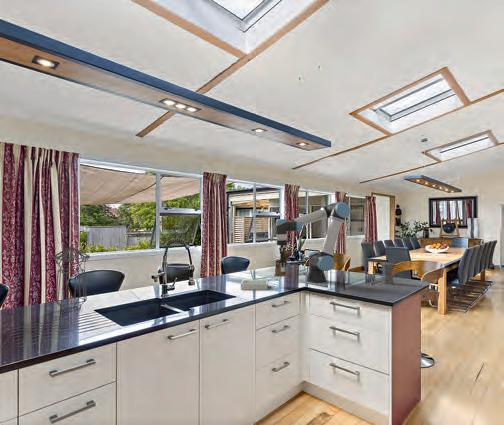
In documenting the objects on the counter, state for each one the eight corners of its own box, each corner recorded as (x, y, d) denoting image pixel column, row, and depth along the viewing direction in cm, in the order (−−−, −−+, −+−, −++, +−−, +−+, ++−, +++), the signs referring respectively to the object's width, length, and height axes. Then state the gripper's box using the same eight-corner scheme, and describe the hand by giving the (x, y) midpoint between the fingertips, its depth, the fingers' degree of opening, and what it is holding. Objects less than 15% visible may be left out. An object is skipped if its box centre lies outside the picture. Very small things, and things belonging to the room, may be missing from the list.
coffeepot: (398, 283, 244) (398, 260, 245) (393, 285, 238) (393, 261, 238) (378, 280, 255) (378, 258, 256) (373, 282, 249) (373, 259, 249)
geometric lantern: (79, 304, 190) (79, 245, 191) (91, 309, 180) (91, 246, 181) (49, 310, 178) (50, 247, 179) (60, 315, 168) (61, 248, 169)
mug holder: (267, 285, 240) (267, 280, 240) (267, 289, 226) (267, 284, 226) (242, 285, 241) (242, 280, 242) (240, 289, 227) (240, 283, 228)
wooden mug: (293, 274, 239) (292, 250, 239) (279, 277, 231) (278, 252, 231) (286, 273, 246) (285, 249, 246) (271, 275, 239) (271, 251, 239)
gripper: (276, 239, 248) (277, 268, 248) (276, 241, 228) (277, 273, 228) (286, 238, 248) (287, 268, 248) (287, 240, 228) (288, 273, 227)
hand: (282, 270), depth 238 cm, fingers closed on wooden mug, 7 cm apart
